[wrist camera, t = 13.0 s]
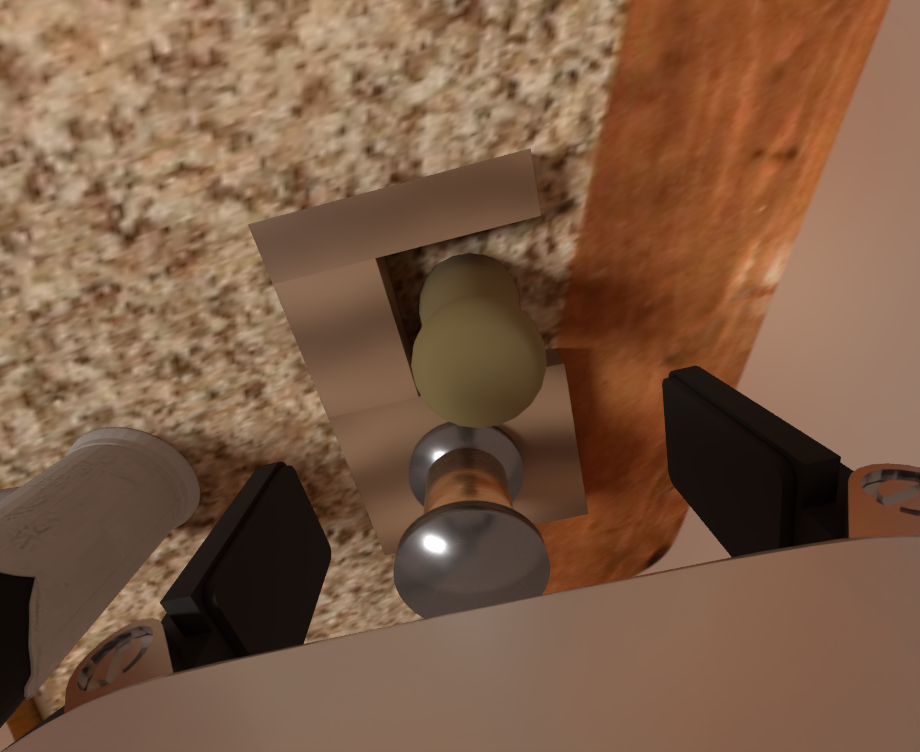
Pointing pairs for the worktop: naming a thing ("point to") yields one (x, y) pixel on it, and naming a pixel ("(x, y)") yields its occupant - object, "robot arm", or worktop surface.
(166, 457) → the glass holder
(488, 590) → the bobbin
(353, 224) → the notched board
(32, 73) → the worktop surface
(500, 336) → the cork
